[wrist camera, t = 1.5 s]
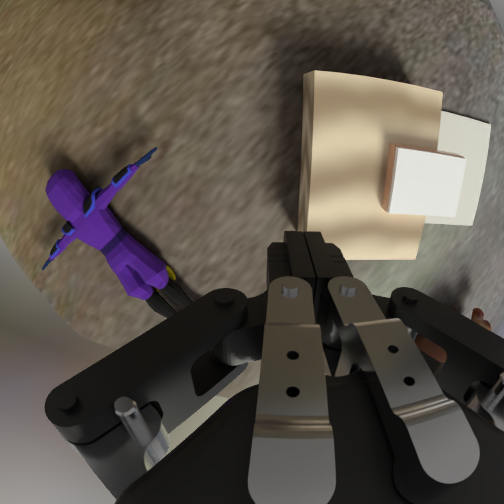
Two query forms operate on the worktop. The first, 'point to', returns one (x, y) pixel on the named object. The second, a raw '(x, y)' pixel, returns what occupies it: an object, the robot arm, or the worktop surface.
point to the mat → (475, 151)
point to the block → (360, 160)
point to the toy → (112, 237)
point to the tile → (422, 181)
